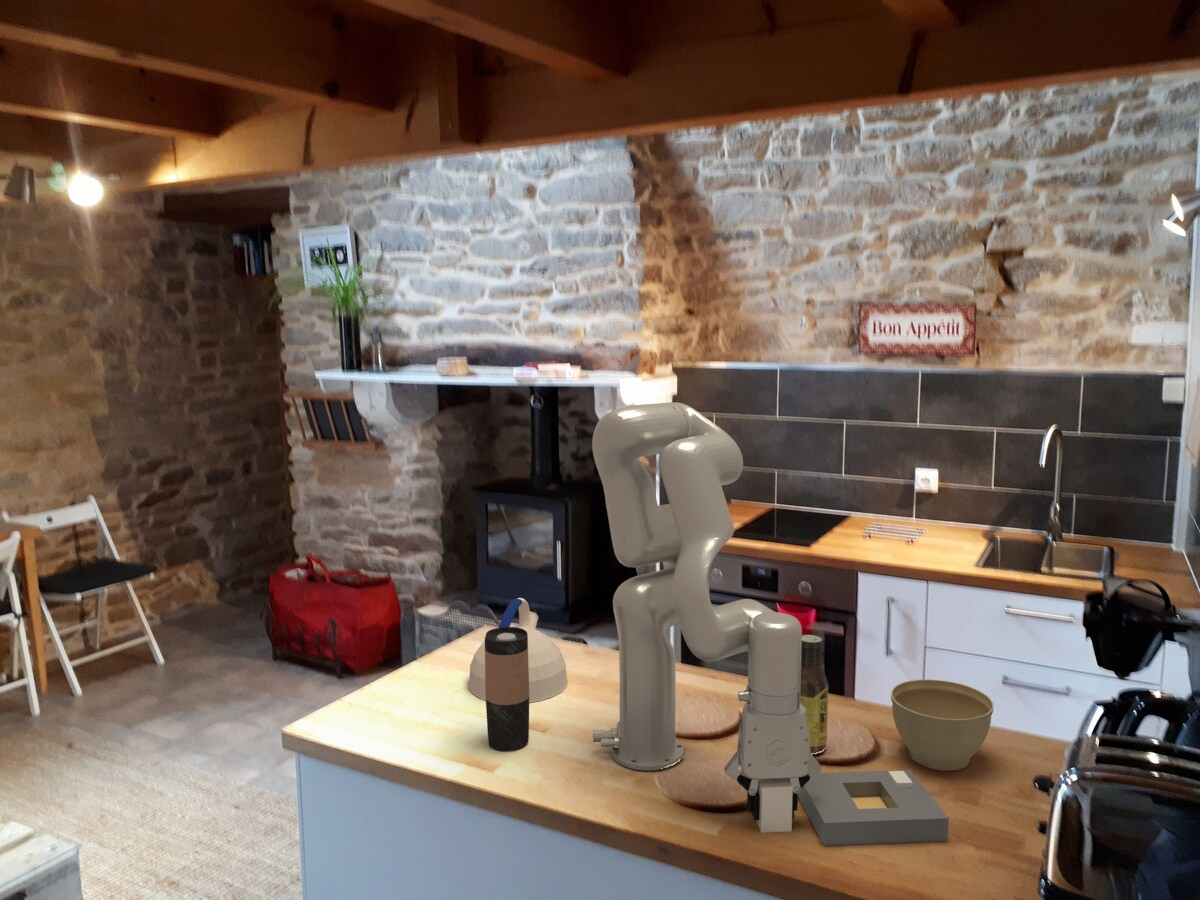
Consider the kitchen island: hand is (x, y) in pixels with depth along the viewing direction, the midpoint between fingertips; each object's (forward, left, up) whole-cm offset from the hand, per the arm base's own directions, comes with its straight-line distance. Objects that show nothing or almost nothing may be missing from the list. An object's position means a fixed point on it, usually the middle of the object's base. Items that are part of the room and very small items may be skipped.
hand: (772, 813), depth 137 cm
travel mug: (-40, +28, -1) cm, 49 cm away
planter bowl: (+33, +17, -1) cm, 37 cm away
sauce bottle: (+12, +22, -1) cm, 25 cm away
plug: (0, 0, -1) cm, 1 cm away
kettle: (-39, +54, -2) cm, 67 cm away
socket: (+15, 0, -1) cm, 15 cm away
